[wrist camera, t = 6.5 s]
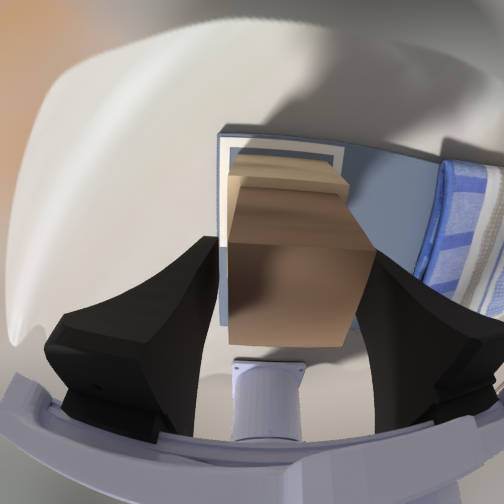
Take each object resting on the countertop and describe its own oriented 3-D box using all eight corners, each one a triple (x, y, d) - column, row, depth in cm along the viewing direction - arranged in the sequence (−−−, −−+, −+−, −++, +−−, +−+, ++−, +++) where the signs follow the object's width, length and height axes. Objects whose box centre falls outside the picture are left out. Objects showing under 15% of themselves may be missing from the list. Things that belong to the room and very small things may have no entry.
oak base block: (314, 238, 19) (328, 282, 14) (235, 233, 19) (227, 277, 14) (326, 161, 16) (349, 185, 12) (237, 154, 16) (227, 175, 12)
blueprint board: (384, 322, 24) (386, 328, 23) (221, 319, 24) (219, 326, 23) (438, 163, 16) (445, 166, 15) (219, 132, 16) (216, 134, 15)
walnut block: (321, 273, 14) (341, 346, 10) (238, 268, 14) (228, 344, 10) (337, 194, 12) (376, 251, 8) (240, 186, 12) (227, 242, 8)
